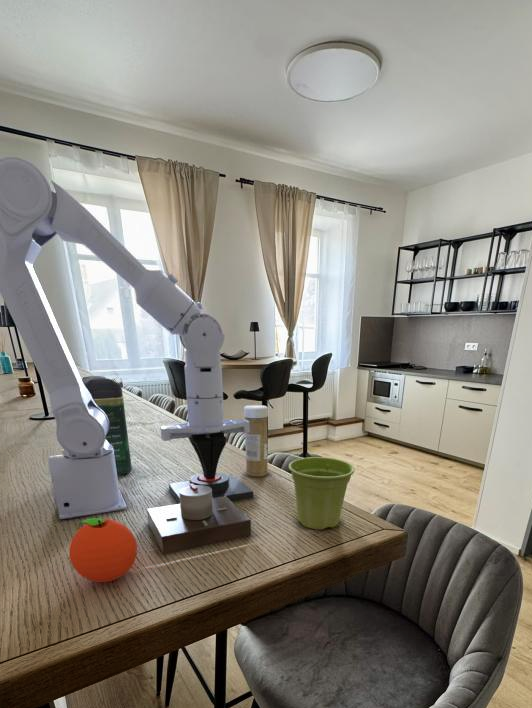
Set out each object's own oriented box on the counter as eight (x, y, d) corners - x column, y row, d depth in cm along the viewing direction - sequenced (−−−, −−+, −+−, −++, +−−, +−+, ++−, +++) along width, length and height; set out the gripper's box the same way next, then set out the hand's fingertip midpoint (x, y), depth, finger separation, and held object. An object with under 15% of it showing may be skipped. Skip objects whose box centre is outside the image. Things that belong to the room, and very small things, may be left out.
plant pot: (355, 514, 64) (359, 460, 61) (343, 540, 56) (348, 479, 53) (298, 506, 67) (299, 454, 64) (278, 529, 59) (279, 471, 56)
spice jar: (272, 474, 83) (272, 406, 78) (255, 479, 80) (254, 409, 75) (257, 469, 86) (257, 403, 81) (240, 473, 83) (238, 406, 78)
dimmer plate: (163, 554, 52) (161, 535, 51) (148, 524, 60) (146, 507, 59) (251, 536, 57) (250, 518, 56) (226, 510, 65) (225, 494, 64)
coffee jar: (137, 475, 81) (125, 377, 74) (94, 481, 77) (77, 379, 70) (125, 462, 89) (113, 373, 82) (86, 468, 85) (70, 374, 78)
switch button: (202, 491, 69) (202, 481, 68) (196, 484, 72) (196, 475, 71) (223, 488, 70) (222, 478, 70) (216, 482, 73) (215, 472, 73)
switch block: (183, 510, 65) (182, 492, 64) (169, 490, 73) (167, 474, 72) (253, 498, 70) (253, 481, 69) (232, 481, 78) (231, 466, 77)
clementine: (56, 579, 46) (43, 522, 44) (108, 554, 52) (100, 501, 49) (101, 602, 42) (90, 540, 40) (153, 572, 48) (146, 516, 45)
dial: (217, 516, 57) (216, 490, 55) (186, 522, 55) (183, 495, 53) (207, 505, 60) (206, 481, 59) (177, 510, 58) (175, 485, 57)
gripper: (164, 402, 59) (172, 490, 64) (256, 397, 65) (257, 478, 70) (154, 396, 65) (162, 477, 70) (240, 391, 71) (242, 467, 76)
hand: (209, 477), depth 71 cm, fingers closed, pressing on switch button
